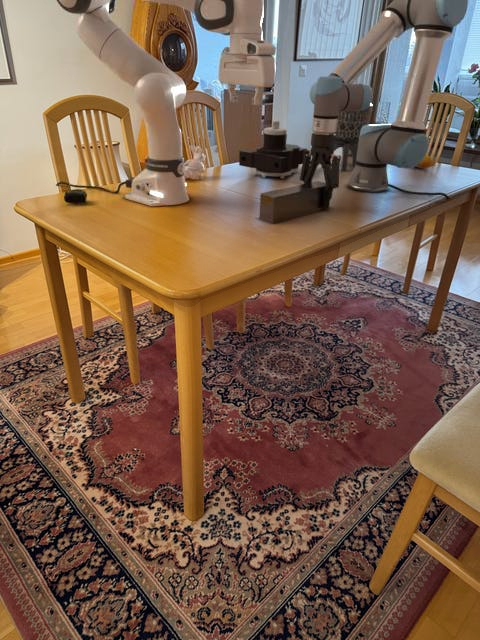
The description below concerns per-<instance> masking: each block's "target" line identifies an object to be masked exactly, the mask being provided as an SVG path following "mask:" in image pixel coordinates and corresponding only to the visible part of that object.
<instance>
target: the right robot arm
mask: <svg viewBox="0 0 480 640" xmlns="http://www.w3.org/2000/svg"><path fill="white" fill-rule="evenodd" d="M468 5H469V0H393V1H391V3H390V4H389V5H387V6H386V8H384V9H383V11H382V12H381V13H380V14H379V17H378V21H377V22H376V23H375V24H374V25H373V26H372V28H371V29H370V30H369V31H368V32H367V33H366V34H365V35H364V36H363V37H362V38H361V40H360V41H358V43H357V44H356V45H355V46H354V47H353V48H352V50H351V51H350V52H349V53H348V54H347V55H346V56H345V57H344V58H343V60H341V62H339V64H338V65H337V66H336V67H335V68H334V70H333V71H331V73H329V75H328V76H319V77H318V78H317V80H316V82H314V83H313V84H312V85H311V88H309V100H310V101H311V103H312V104H313V117H312V126H311V131H312V133H311V137H310V146H311V148H309V149H307V150H304V151H303V156H304V158H303V164H301V169H300V174H299V180H300V182H303V184H307V183H311V182H313V178H314V176H315V174H316V171H317V169H318V167H319V165H321V169H322V171H323V178H324V183H326V188H325V189H324V194H323V203H322V209H323V210H322V211H324V210H327V209H330V204H329V203H330V202H331V200H332V198H333V191H334V189H337V188H339V187H340V163H341V161H342V155H340V154H338V155H337V154H335V151H334V152H333V148H334V146H335V139H336V135H335V134H334V133H335V132H336V131H337V123H338V115H339V111H360V110H365V109H367V108H368V107H369V106H370V105H372V102H373V97H374V92H373V89H372V87H371V85H369V84H367V83H360V82H359V83H355V81H357V80H358V78H360V76H361V75H363V73H364V72H365V71H366V70H367V69H368V68H369V66H370V65H371V64H372V63H373V62H374V61H375V60H376V59H377V58H378V57H379V55H381V53H382V52H383V51H384V50H385V49H386V48H387V47H388V46H389V45H390V44H391V43H392V42H393V40H395V39H398V38H400V37H401V36H402V35H403V34H404V33H405V32H407V31H408V30H411V29H413V31H412V32H413V34H414V36H415V43H414V48H413V51H412V56H411V60H410V64H409V69H408V72H407V77H406V79H405V80H406V81H405V85H404V88H403V93H402V97H401V101H400V105H399V109H398V114H397V117H396V119H395V120H394V121H393V122H392V123H381V124H380V123H379V124H369V125H365V126H363V127H362V128H361V131H360V136H359V142H358V150H357V158H356V165H355V166H354V167H353V171H351V174H350V176H349V179H348V182H347V187H348V188H349V189H351V190H354V191H358V192H363V193H364V192H365V193H382V192H386V191H388V189H389V188H392V189H393V190H396V191H399V192H401V193H405V194H410V195H416V196H417V195H418V196H443V197H444V198H445V199H446V200H450V196H449V195H448V194H447V193H445V192H440V191H439V192H427V191H424V192H423V191H411V190H407V189H403V188H400V187H398V186H396V185H393V184H390V183H389V178H388V173H387V172H388V171H387V166H389V165H390V166H393V167H397V168H400V169H407V170H409V169H412V168H415V167H418V166H417V165H418V164H419V163H420V162H421V161H422V160H423V158H424V157H425V155H427V153H428V150H429V146H430V143H429V138H428V137H427V136H426V135H425V133H426V130H427V129H426V126H425V124H424V119H425V116H426V112H427V108H428V104H429V100H430V97H431V93H432V89H433V86H434V82H435V79H436V75H437V70H438V67H439V64H440V59H441V57H442V52H443V48H444V44H445V41H446V40H447V39H448V38H450V37H451V36H452V34H453V32H454V31H453V30H454V27H456V26H458V25H460V24H461V23H462V21H463V20H464V18H465V17H466V14H467V11H468ZM326 164H327V165H326Z"/></svg>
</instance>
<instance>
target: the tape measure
mask: <svg viewBox="0 0 480 640" xmlns="http://www.w3.org/2000/svg"><path fill="white" fill-rule="evenodd" d="M87 198H88V193H87V192H86V191H85V190H84V189H82V188H75V189H74V188H73V189H69V190H65V192H64V196H63V200H64V202H65V203H67V204H74V205H78V204H82V203H83V204H84V203H85V204H86V203H87Z"/></svg>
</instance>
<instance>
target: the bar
mask: <svg viewBox="0 0 480 640" xmlns="http://www.w3.org/2000/svg"><path fill="white" fill-rule="evenodd" d="M325 188H326V183H325V181H321V180H320V181H319V180H317V181H312V182H311V183H307V184H304V183H303V184H298V185H293V186H289V187H284V188H279V189H274V190H270V191H265V192H261V193H260V199H259V220H261V221H264V222H267V223H270V224H276V223H278V222H279V223H280V222H283V221H287V220H290V219H295V218H297V217H302V216H306V215H309V214H313V213H316V212H319V211H320V212H321V211H324V210H323V209H322V203H323V194H324V189H325ZM329 205H330V203H329Z"/></svg>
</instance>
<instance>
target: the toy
mask: <svg viewBox="0 0 480 640" xmlns="http://www.w3.org/2000/svg"><path fill="white" fill-rule="evenodd" d="M436 164H437V163H436V160H434V159H432V158H431V157H430V156H429V155H428V154H426V155H425V157H424V158H423V160H422V161H421V162H420V163H419V164H418V165H417V166H416V167H418V168H420V169H428V168H432V167H434V166H435V165H436Z"/></svg>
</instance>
